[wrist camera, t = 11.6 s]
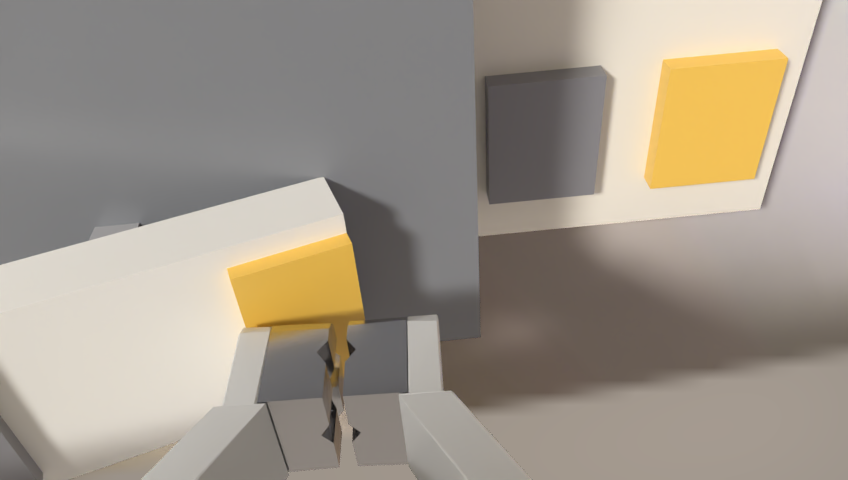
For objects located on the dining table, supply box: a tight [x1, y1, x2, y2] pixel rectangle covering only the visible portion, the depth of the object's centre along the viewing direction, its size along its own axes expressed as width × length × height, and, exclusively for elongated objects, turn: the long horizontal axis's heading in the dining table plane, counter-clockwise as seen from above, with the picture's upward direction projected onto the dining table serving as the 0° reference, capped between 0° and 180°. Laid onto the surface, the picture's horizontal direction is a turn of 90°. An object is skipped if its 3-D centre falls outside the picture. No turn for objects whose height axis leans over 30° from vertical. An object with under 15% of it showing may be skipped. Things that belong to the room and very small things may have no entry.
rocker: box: [0, 177, 365, 480], centre depth 12 cm, size 8×4×2 cm, turn 94°
